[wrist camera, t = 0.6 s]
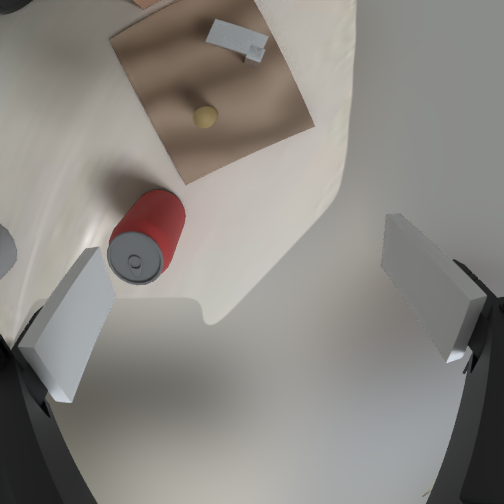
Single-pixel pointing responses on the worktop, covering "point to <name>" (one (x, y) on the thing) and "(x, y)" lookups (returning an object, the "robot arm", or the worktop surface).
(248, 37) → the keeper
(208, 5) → the board
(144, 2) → the link
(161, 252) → the beer can
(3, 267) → the cup
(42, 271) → the worktop surface
